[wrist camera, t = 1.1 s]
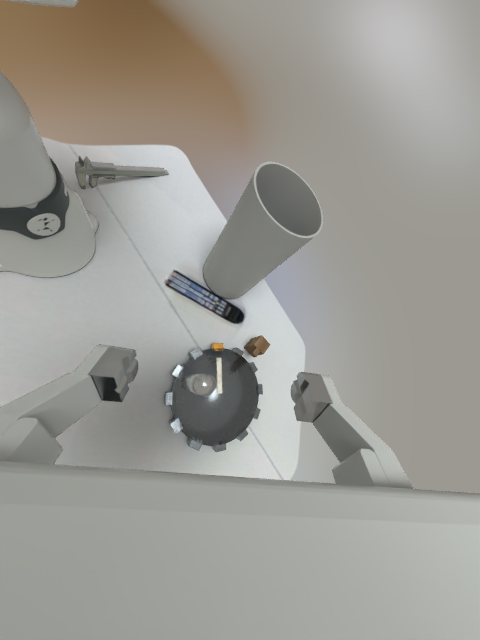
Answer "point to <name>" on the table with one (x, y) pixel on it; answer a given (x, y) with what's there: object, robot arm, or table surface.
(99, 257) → the table surface
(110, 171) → the caliper
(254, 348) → the brown wooden block
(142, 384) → the table surface
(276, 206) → the cylinder vase
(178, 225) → the table surface
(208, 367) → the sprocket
